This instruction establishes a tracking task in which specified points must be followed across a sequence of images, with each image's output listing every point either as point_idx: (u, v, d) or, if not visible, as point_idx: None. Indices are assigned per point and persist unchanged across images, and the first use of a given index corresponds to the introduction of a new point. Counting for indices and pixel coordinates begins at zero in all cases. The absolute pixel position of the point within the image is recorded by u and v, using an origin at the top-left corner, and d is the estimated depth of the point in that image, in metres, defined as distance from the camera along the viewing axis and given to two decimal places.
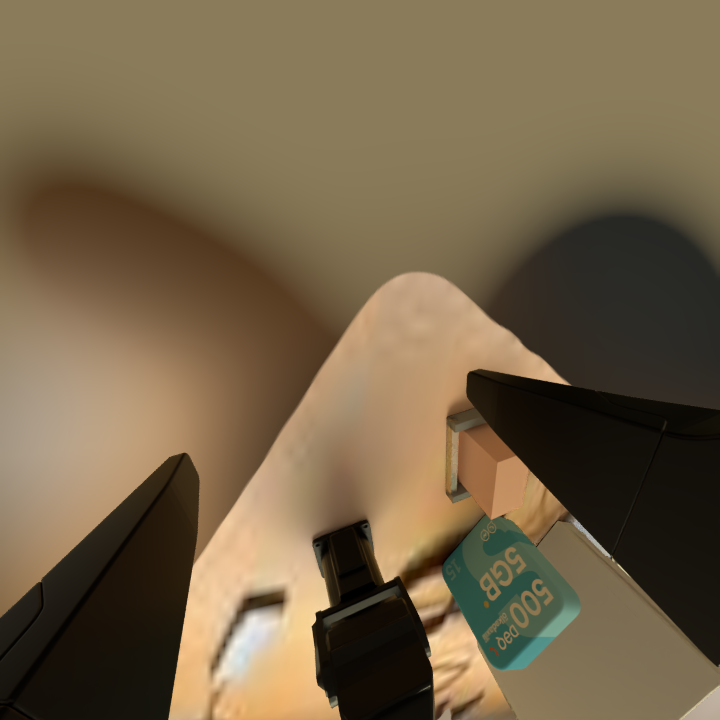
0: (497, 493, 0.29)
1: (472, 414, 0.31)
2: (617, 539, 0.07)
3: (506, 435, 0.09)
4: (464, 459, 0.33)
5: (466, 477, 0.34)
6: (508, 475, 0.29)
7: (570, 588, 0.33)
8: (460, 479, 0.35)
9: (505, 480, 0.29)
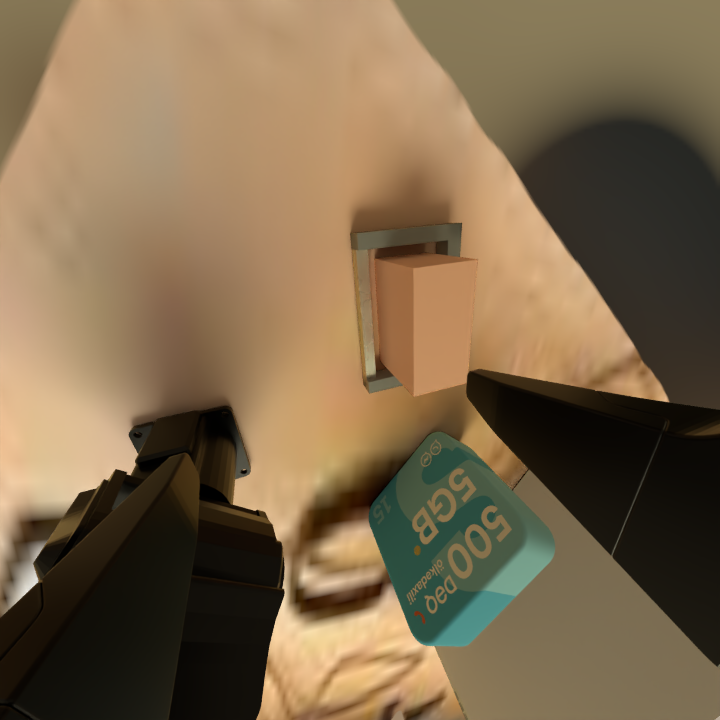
0: (419, 342, 0.18)
1: (390, 229, 0.19)
2: (618, 539, 0.07)
3: (506, 435, 0.09)
4: (383, 315, 0.21)
5: (387, 347, 0.22)
6: (437, 306, 0.17)
7: (540, 522, 0.22)
8: (382, 358, 0.23)
9: (432, 317, 0.17)
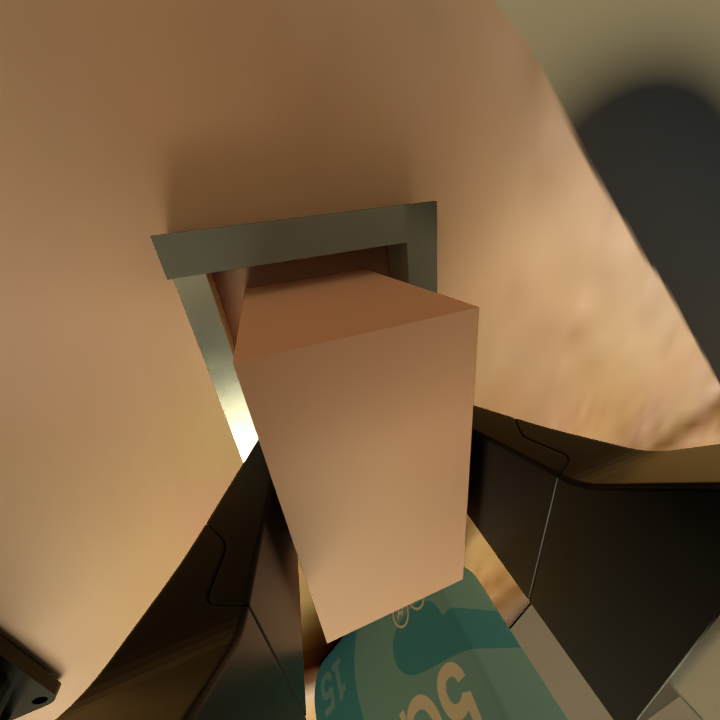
0: (315, 546, 0.06)
1: None
2: (532, 583, 0.06)
3: None
4: None
5: None
6: (357, 455, 0.05)
7: None
8: None
9: (344, 484, 0.06)
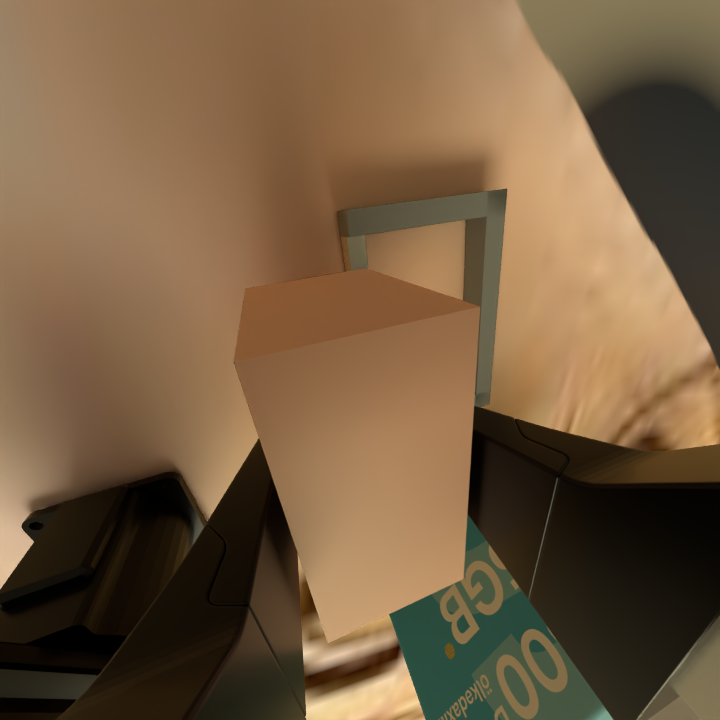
0: (315, 545, 0.06)
1: None
2: (532, 583, 0.06)
3: None
4: None
5: None
6: (358, 455, 0.05)
7: None
8: None
9: (345, 483, 0.06)
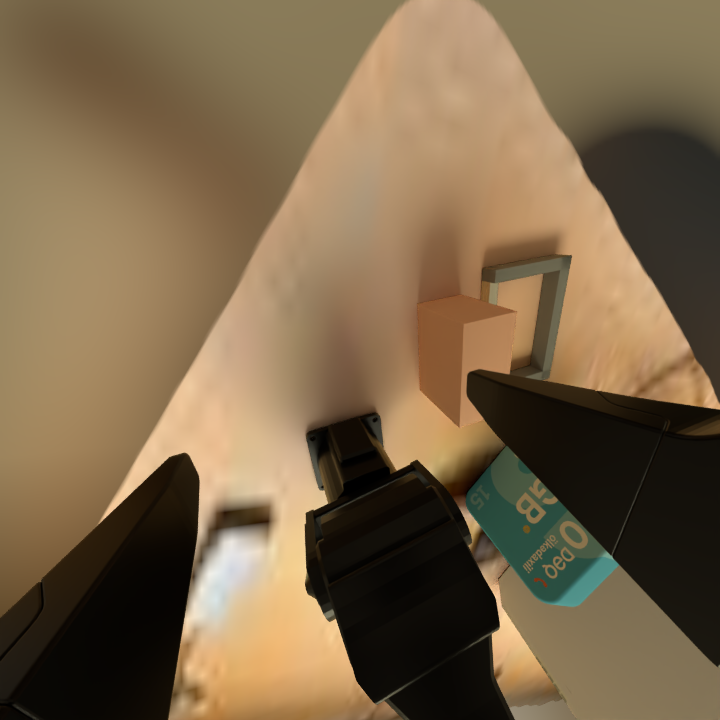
0: (466, 382, 0.20)
1: (516, 264, 0.24)
2: (618, 539, 0.07)
3: (506, 435, 0.09)
4: (425, 353, 0.24)
5: (429, 380, 0.24)
6: (482, 352, 0.19)
7: None
8: (423, 388, 0.26)
9: (477, 361, 0.20)
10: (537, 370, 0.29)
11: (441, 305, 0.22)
